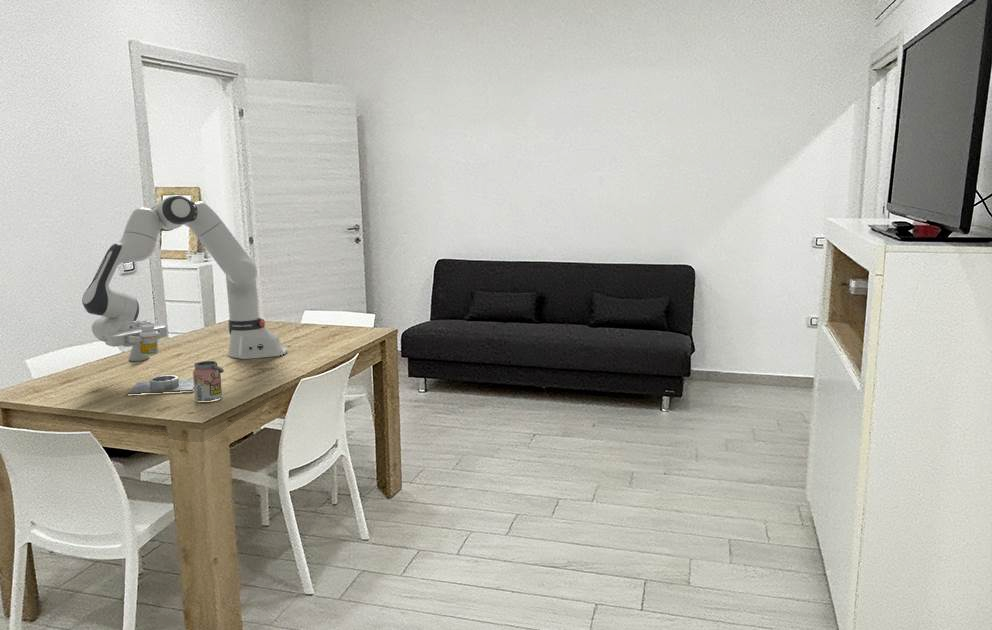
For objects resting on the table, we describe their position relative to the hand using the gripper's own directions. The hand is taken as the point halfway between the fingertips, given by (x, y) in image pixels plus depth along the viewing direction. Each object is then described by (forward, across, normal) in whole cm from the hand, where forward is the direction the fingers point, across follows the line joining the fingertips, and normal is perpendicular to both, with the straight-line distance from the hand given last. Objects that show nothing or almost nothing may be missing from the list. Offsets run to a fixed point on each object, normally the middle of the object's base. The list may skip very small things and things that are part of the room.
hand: (150, 338), depth 264 cm
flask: (-41, +20, +17) cm, 49 cm away
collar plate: (+6, 0, +17) cm, 18 cm away
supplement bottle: (-1, 0, +6) cm, 6 cm away
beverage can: (+30, 0, +17) cm, 34 cm away
